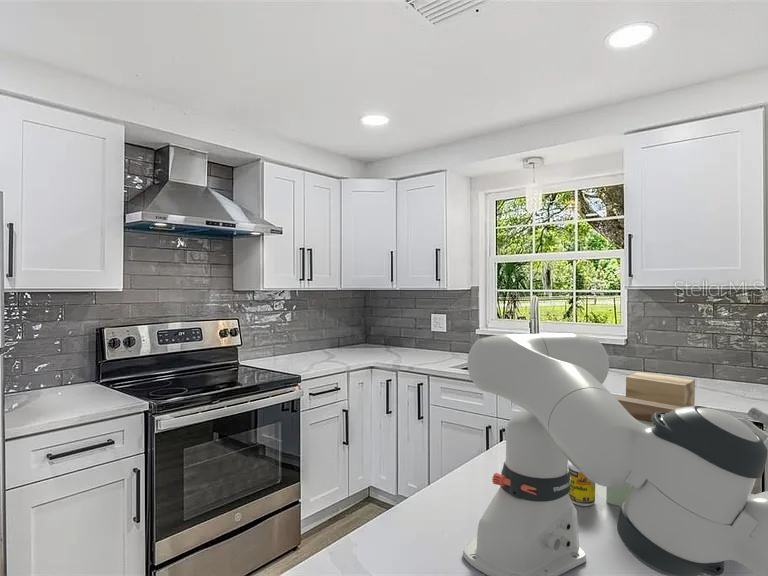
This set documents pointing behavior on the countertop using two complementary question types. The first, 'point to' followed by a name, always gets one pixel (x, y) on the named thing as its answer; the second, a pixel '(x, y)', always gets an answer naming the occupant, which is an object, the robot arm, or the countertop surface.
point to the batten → (643, 407)
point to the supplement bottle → (581, 488)
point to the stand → (661, 389)
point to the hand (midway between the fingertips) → (744, 415)
